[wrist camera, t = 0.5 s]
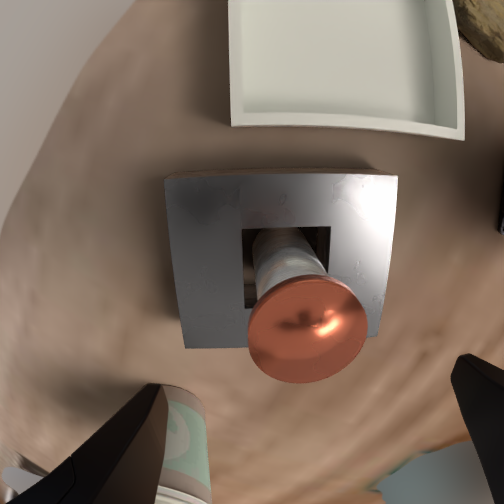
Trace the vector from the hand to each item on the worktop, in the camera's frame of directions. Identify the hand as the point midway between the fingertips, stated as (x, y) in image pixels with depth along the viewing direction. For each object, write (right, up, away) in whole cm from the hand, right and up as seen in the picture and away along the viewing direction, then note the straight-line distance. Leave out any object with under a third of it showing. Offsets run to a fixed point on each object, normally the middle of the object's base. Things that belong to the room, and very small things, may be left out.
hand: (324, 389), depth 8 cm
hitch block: (0, +4, +12) cm, 12 cm away
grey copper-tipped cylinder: (0, +4, +12) cm, 12 cm away
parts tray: (+3, +16, +7) cm, 18 cm away
